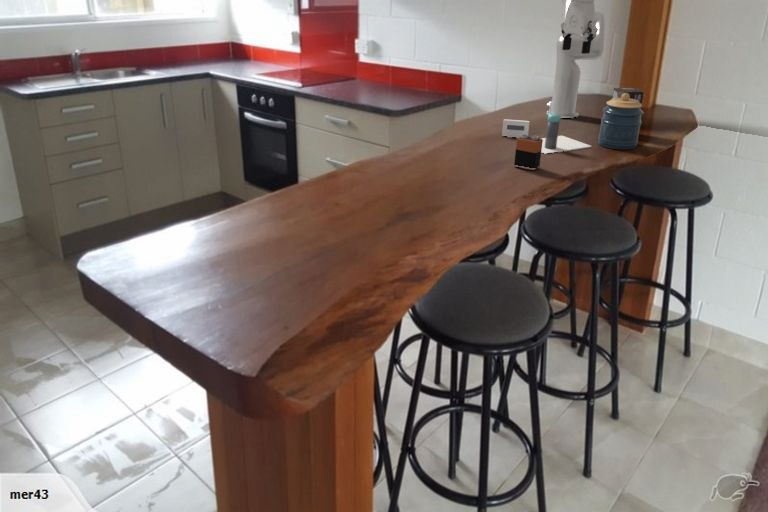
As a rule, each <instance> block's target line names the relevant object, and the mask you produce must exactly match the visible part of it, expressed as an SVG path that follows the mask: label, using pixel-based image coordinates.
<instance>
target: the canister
mask: <svg viewBox="0 0 768 512" xmlns="http://www.w3.org/2000/svg"><path fill="white" fill-rule="evenodd" d="M612 98H613V97H612ZM612 98H611V99H610V100H608V101H606V106H605V107H603V108H602V112H603V115H602V117H601V118H600V121H601V123H600V128H599V134H598V138H597V140H598V141H597V143H598V145H599V146H601V147H604V148H605V149H612V150H624V151H625V150H634V149H635V148H636V147H637V145H638V142H639V134H640V131H641V130H640V129H641V125H642V115H644V112H645V111H643V110H642V107H643V103H642V104H641V103H639V102H638V100H635V99H631V98H630V96H629V94H628V93H624V94H622V96H621V98H613V99H612ZM640 107H641V109H640Z"/></svg>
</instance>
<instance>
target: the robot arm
mask: <svg viewBox="0 0 768 512" xmlns="http://www.w3.org/2000/svg"><path fill="white" fill-rule="evenodd" d="M561 3H562V7H563V9H562V10H563V12H562V21H561V22H562V23H561V24H560V28H561V35H560V36H559V37H558V38H557V41H556V65H555V75H554V76H555V77H554V81H553V84H554V85H553V90H552V98H551V101H549V102H547V103H546V107H548V110H547V111H546V116H548V114H560V115H561V118H560V119H562V118H571V119H575V118H574V117H576V118H578V117H579V116H580V115H579V114H580V113H579V112H578V111H576V107H577V100H578V94H579V86H580V79H581V68H580V67H579V65H578V63H577V62H576V60H577V61H578V60H581V61H597V60H599V59H600V58H601V57H602V55H603V53H604V48H605V31H606V29H605V28H606V27H605V25H606V19H605V15H604V13H602V12H600V11H595V5H596V4H595V0H561Z"/></svg>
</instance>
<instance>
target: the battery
mask: <svg viewBox="0 0 768 512" xmlns="http://www.w3.org/2000/svg"><path fill="white" fill-rule="evenodd" d="M542 142H543V140H542V139H541V137H539V135H532V136H529V135H528V136H527V135H522V136H521V137H519V138H516V143H515V154H514V163H513V166H514V165H518V166H524V167H529V168H537V167H538V166H539V167H540V164H541V156H542V153H541V150H542ZM537 169H538V168H537Z"/></svg>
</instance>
